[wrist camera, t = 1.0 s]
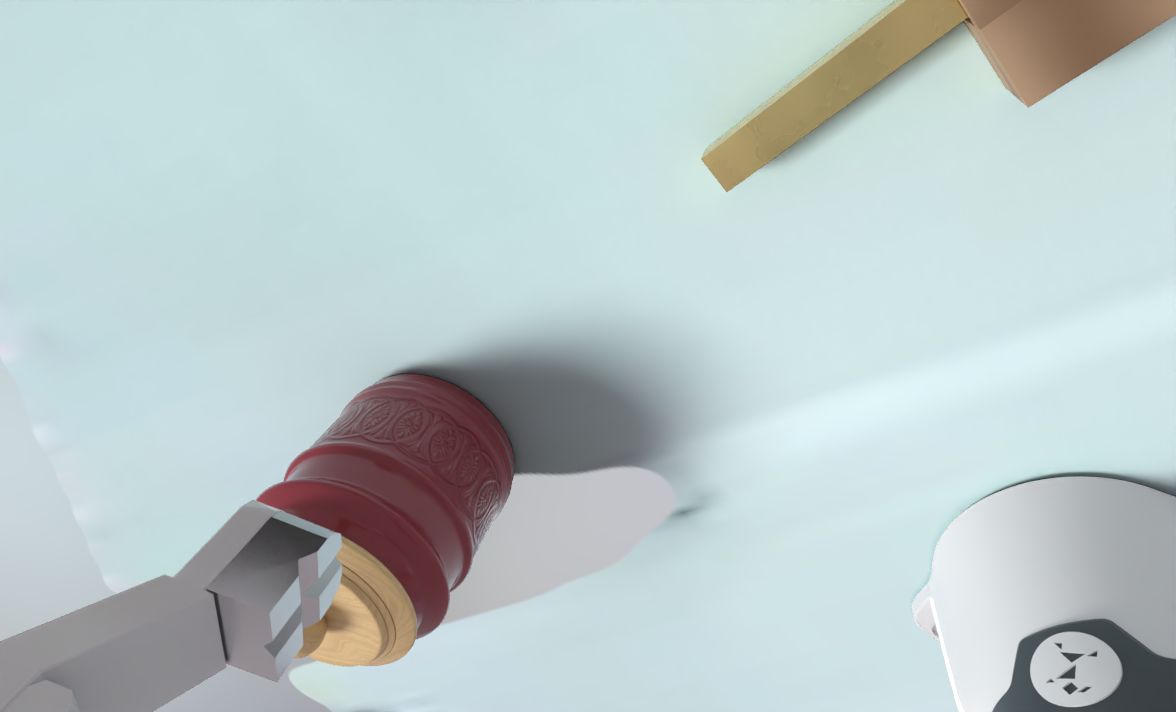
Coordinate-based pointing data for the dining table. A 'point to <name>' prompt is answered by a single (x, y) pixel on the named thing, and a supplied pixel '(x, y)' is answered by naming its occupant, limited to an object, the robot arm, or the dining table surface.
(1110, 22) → the socket block
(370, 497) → the canister
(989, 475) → the dining table surface
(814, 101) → the tan wooden bar
